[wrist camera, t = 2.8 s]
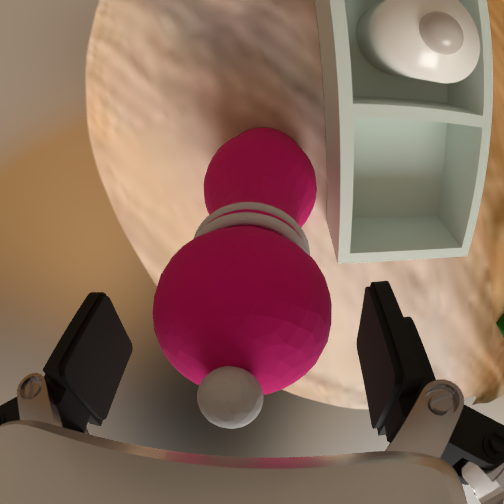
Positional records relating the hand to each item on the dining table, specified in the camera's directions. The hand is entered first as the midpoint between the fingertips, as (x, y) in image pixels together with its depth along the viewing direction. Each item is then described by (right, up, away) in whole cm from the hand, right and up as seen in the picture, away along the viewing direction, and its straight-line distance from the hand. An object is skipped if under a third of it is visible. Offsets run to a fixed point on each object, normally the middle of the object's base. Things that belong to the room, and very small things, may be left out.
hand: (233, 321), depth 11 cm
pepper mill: (+1, +9, +13) cm, 16 cm away
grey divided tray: (+11, +14, +9) cm, 20 cm away
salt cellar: (+10, +17, +5) cm, 21 cm away
